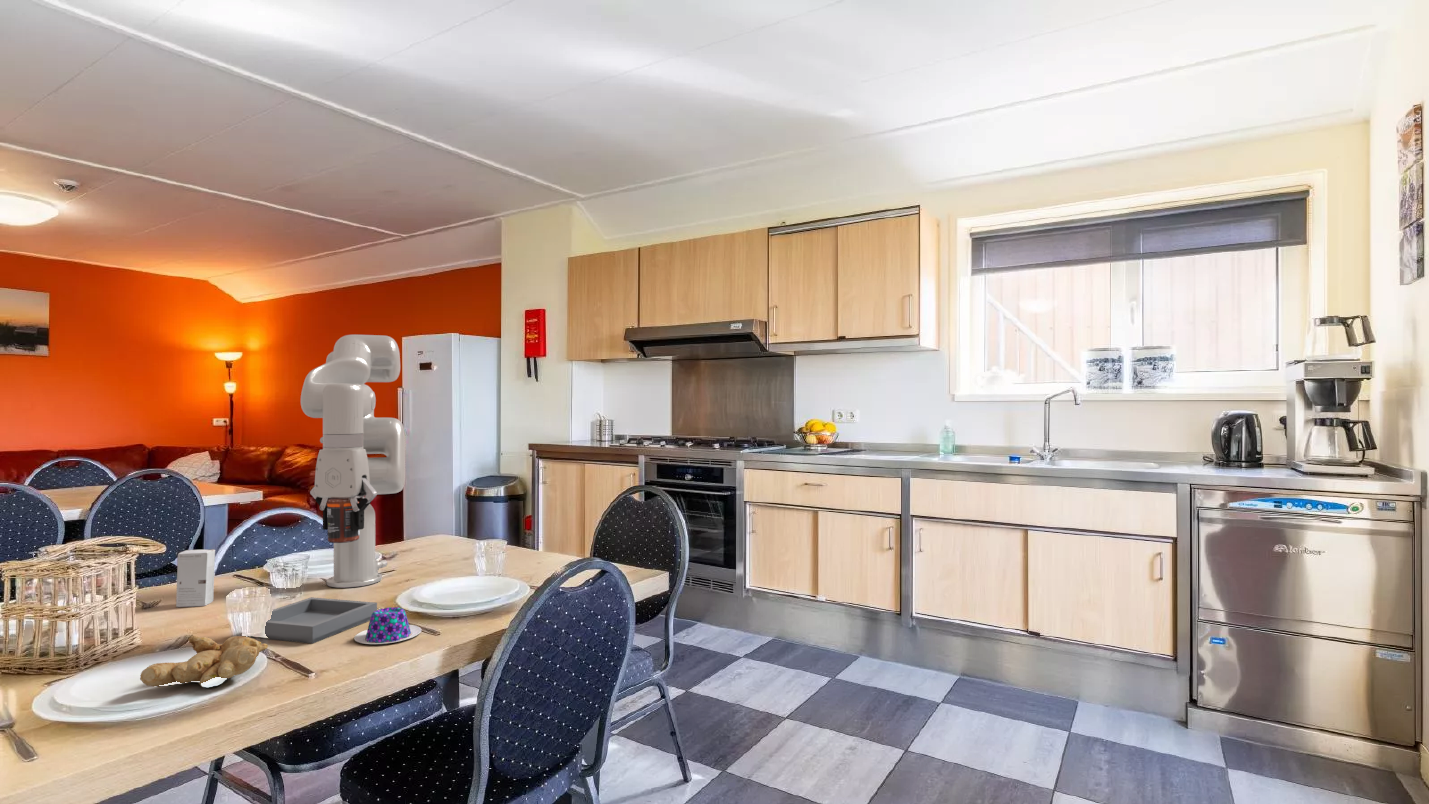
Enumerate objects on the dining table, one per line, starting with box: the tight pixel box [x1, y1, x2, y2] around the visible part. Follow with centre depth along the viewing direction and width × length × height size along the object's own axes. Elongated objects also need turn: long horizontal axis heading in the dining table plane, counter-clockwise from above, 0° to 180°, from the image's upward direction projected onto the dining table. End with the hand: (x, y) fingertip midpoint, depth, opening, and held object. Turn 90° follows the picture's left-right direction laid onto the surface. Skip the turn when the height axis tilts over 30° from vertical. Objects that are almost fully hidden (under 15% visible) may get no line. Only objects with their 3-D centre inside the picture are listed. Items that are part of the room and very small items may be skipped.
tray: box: [265, 596, 378, 644], centre depth 146 cm, size 17×17×3 cm
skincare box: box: [175, 549, 216, 608], centre depth 162 cm, size 6×4×12 cm
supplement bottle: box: [327, 498, 360, 544], centre depth 149 cm, size 6×6×11 cm
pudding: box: [353, 606, 422, 645], centre depth 140 cm, size 12×12×5 cm
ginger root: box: [139, 635, 269, 687], centre depth 118 cm, size 16×16×8 cm
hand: (343, 528), depth 149 cm, fingers closed on supplement bottle, 6 cm apart
